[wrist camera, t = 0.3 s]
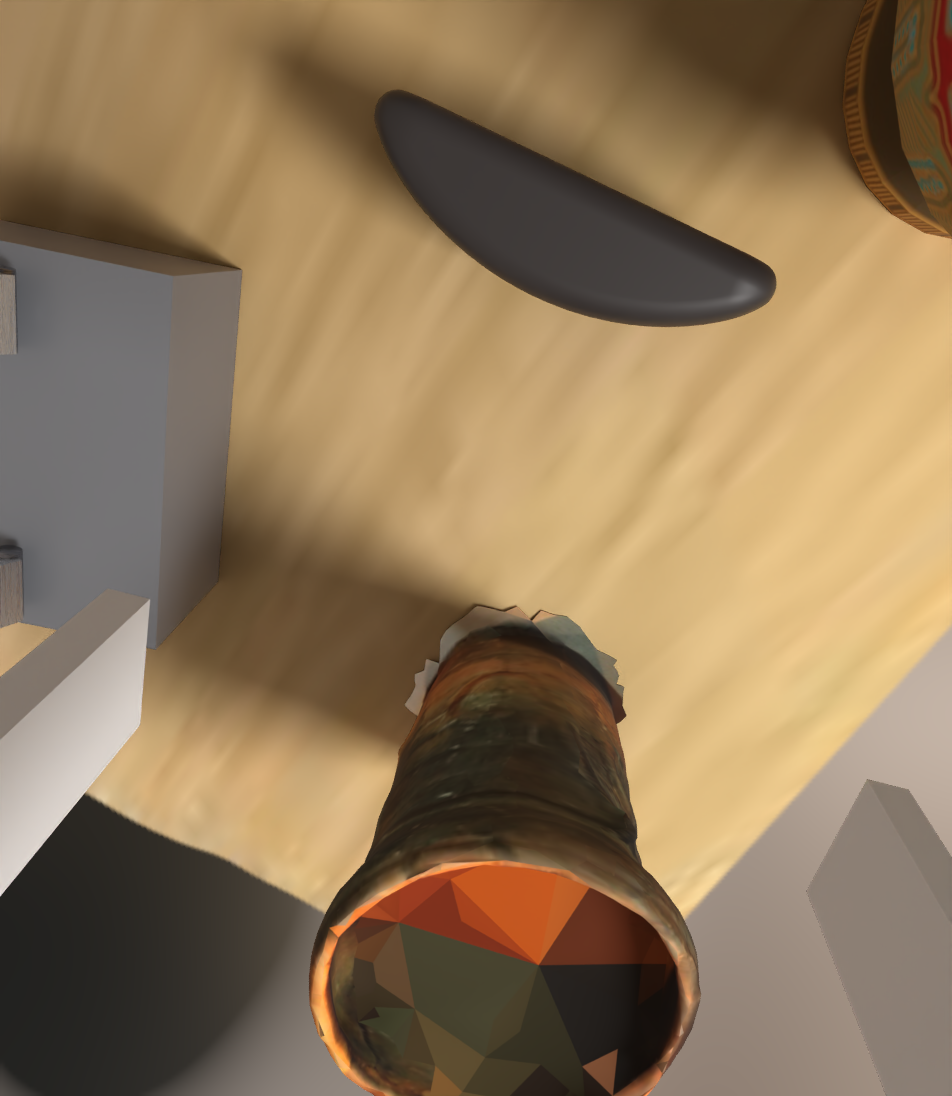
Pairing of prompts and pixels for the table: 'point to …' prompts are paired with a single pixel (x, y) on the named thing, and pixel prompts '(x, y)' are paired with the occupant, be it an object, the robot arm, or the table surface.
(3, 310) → the lever
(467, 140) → the dark grey curved slab
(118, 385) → the console
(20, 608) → the lever
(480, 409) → the table surface
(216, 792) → the table surface
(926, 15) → the vase
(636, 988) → the vessel
